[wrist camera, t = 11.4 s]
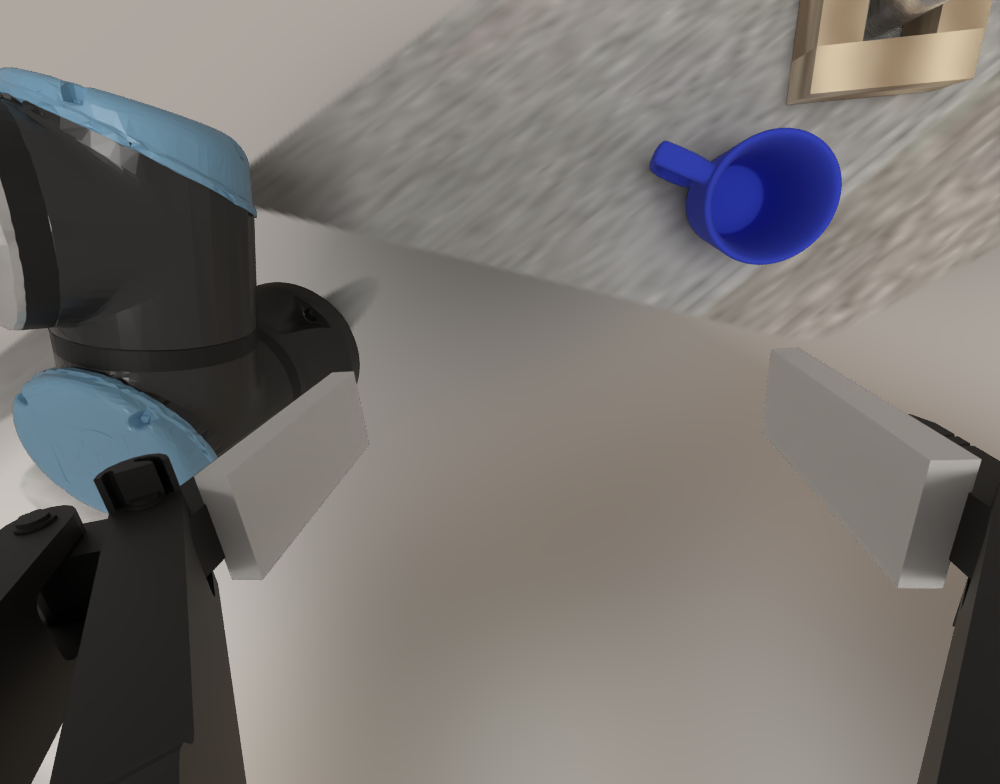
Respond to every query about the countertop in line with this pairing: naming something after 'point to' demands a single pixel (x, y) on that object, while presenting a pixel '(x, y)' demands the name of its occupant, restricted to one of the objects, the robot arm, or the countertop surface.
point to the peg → (894, 15)
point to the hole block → (882, 51)
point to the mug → (757, 193)
